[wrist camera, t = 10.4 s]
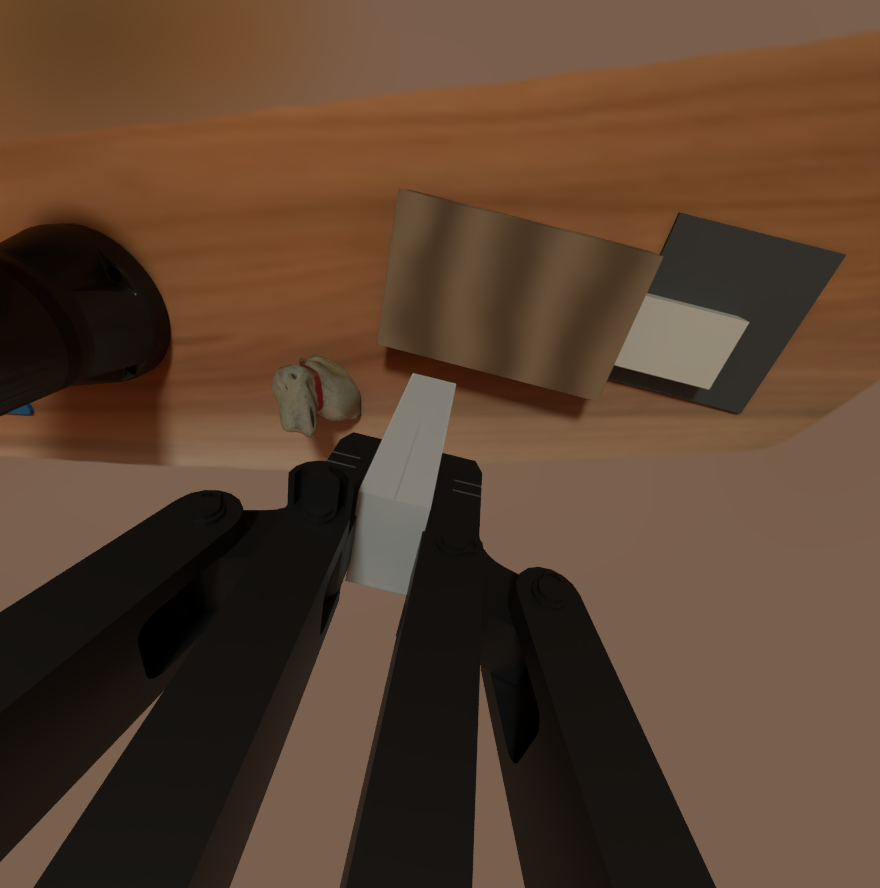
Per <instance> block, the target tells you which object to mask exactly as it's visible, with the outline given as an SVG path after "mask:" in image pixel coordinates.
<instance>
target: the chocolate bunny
mask: <svg viewBox="0 0 880 888" xmlns="http://www.w3.org/2000/svg"><path fill="white" fill-rule="evenodd" d="M299 362H300V364H299V365H295V364H293V365H288V366H285V367H282V368H280V369H278V370H277V371H276V372H275V375H274V378H273V382H272V390H273V394H274V396H275V397H276V399H277V400H278V402H279V405H280V421H281V425H282V427H283V429H284V430H286V431H288V432H299V433H302V434H304V435H305V436H307V437H311V436H312V435H313V434H314V433H315V431H316V425H317V414H318V415H320V416H321V417H323V418H325V419H328V420H330V421H343V420H351V419H356V418H357V417H358V416H359V415H360V414H361V410H360V402H361V398H360V393H359V390H358V389H357V387H356V386H355V384H354V382H353V381H352V379H351V377H350V376H349V375H348V374H347V373H346V372H345V371H344V370H343V368H342V367H340V366H339V365H338V364H335V363H333V362H331V361H330V360H328V359H327V358H323V357H320V356H312V357H311V358H309V359H308V360H307V361H306V360H305V359H303V358H301V359H300V360H299ZM316 413H317V414H316Z"/></svg>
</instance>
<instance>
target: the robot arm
mask: <svg viewBox="0 0 880 888" xmlns="http://www.w3.org/2000/svg"><path fill="white" fill-rule="evenodd" d="M168 343H169V322H168V317H167V313H166V309H165V306H164V303H163V301H162V298H161V296H160V294H159V292H158V290H157V288H156V286H155V285H154V283H153V281H152V280H151V278H150V277H149V275H148V274H147V273H146V271H145V270H144V269H143V267H142V266H141V265H140V264H139V263H138V262H137V260H136V259H135V258H134V257H133V256H132V255H131V254H130V253H129V252H127V251H126V250H125V249H124V248H123V247H122V246H120V245H119V244H118V243H116V242H115V241H113V240H112V239H110V238H109V237H107V236H105V235H104V234H102V233H100V232H98V231H96V230H93V229H91V228H88V227H85V226H81V225H76V224H66V223H65V224H48V225H38V226H34V227H30V228H27V229H25V230H23V231H21V232H19V233H17V234H16V235H14V236H12V237H10V238H8V239H6V240H4V241H2V242H1V243H0V416H2V415H5V414H7V413H9V412H11V411H14V410H16V409H18V408H21V407H23V406H25V405H27V404H30V403H32V402H34V401H36V400H39V399H41V398H43V397H46V396H48V395H50V394H53V393H55V392H57V391H59V390H62V389H64V388H67V387H69V386H78V385H91V384H103V383H116V382H123V381H127V380H131V379H134V378H136V377H138V376H140V375H142V374H144V373H146V372H148V371H150V370H152V369H154V368H155V367H156V366H157V365H158V364H159V363H160V362H161V360H162V359H163V357H164V355H165V353H166V351H167V348H168ZM455 388H456V384H455V383H451V382H447V381H443V380H439V379H435V378H431V377H427V376H423V375H419V374H415V373H413V374H412V376H411V378H410V380H409V382H408V385H407V387H406V389H405V391H404V393H403V395H402V398H401V400H400V402H399V404H398V406H397V408H396V411H395V413H394V415H393V417H392V419H391V422H390V424H389V426H388V428H387V430H386V432H385V435H384V437H383V439H378V438H374V437H370V436H366V435H362V434H358V433H354V432H353V433H351V434H349V435H348V436H346V437H344V438H342V439H341V440H340V441H339V442H338V444H337V446H336V447H335V449H334V450H333V453H332V454H331V455H330V457H329V458H328V461H312V462H306V463H303V464H300V465H298V466H296V467H295V468H293V469H292V470H291V471H290V472H289V479H288V505H287V506H286V507H285V508H281V509H277V510H243V506H242V504H241V502H240V500H239V499H238V498H236V497H235V496H233V495H232V494H230V493H226V492H223V491H217V490H214V491H213V490H204V491H200V492H194V493H190V494H188V495H186V496H184V497H181V498H179V499H177V500H176V501H174V502H172V503H171V504H169V505H168V506H166V507H165V508H163V509H162V510H160V511H158V512H157V513H155V514H154V515H152V516H150V517H149V518H147V519H146V520H144V521H143V522H141V523H140V524H138V525H136V526H135V527H133V528H132V529H130V530H128V531H127V532H125V533H124V534H122V535H121V536H119V537H118V538H116V539H114V540H113V541H111V542H110V543H108V544H107V545H105V546H103V547H102V548H100V549H99V550H97V551H96V552H94V553H92V554H91V555H89V556H88V557H86V558H85V559H83V560H81V561H80V562H78V563H77V564H75V565H74V566H72V567H71V568H69V569H67V570H66V571H65V572H63V573H61V574H60V575H58V576H56V577H55V578H53V579H52V580H50V581H48V582H47V583H46V584H44V585H42V586H41V587H39V588H38V589H36V590H34V591H33V592H32V593H30V594H28V595H27V596H25V597H23V598H22V599H20V600H19V601H17V602H16V603H14V604H12V605H11V606H9V607H8V608H6V609H5V610H3V611H2V612H0V861H2V859H3V858H4V857H5V856H6V855H7V854H8V853H9V852H10V851H11V850H12V849H13V848H14V847H15V846H16V844H18V843H19V842H20V841H21V840H22V839H23V838H24V836H25V835H26V834H27V833H28V832H29V831H30V830H31V829H32V828H33V827H34V826H35V825H36V824H37V823H38V822H39V821H40V820H41V819H42V818H43V816H45V814H46V813H47V812H48V811H49V810H50V809H51V808H52V807H53V806H54V805H55V804H56V803H57V802H58V801H59V800H60V799H61V798H62V797H63V796H64V795H65V794H66V792H68V790H69V789H70V788H71V787H72V786H73V785H74V784H75V783H76V782H77V781H78V780H79V779H80V778H81V777H82V776H83V775H84V774H85V773H86V772H87V771H88V769H89V768H90V767H91V766H92V765H93V764H94V763H95V762H96V761H97V760H98V759H99V758H100V757H101V756H102V755H103V754H104V753H105V752H106V751H107V750H108V749H109V748H110V747H111V745H112V744H113V743H114V742H115V741H116V740H117V739H118V738H119V737H120V736H121V735H122V734H123V733H124V732H125V731H126V730H127V729H128V728H129V727H130V725H132V724H133V722H134V721H135V720H136V719H137V718H138V717H139V716H140V715H141V714H142V713H143V712H144V711H145V710H146V709H147V708H148V707H149V706H150V705H151V704H152V702H154V701H155V699H156V698H157V697H158V696H159V695H160V694H161V693H162V692H163V691H164V692H163V693H162V695H161V696H160V698H159V699H158V701H157V702H156V704H155V705H154V707H153V708H152V710H151V711H150V713H149V714H148V716H147V718H146V719H145V720H144V722H143V723H142V725H141V726H140V728H139V729H138V731H137V733H136V734H135V735H134V737H133V738H132V740H131V741H130V743H129V744H128V746H127V747H126V749H125V750H124V752H123V753H122V755H121V756H120V758H119V759H118V761H117V763H116V764H115V765H114V767H113V769H112V770H111V771H110V773H109V774H108V776H107V778H106V779H105V781H104V782H103V784H102V785H101V787H100V788H99V790H98V791H97V793H96V794H95V796H94V797H93V799H92V800H91V802H90V803H89V805H88V806H87V808H86V809H85V811H84V812H83V814H82V815H81V817H80V818H79V820H78V821H77V823H76V824H75V826H74V827H73V829H72V830H71V832H70V833H69V835H68V836H67V838H66V839H65V841H64V842H63V844H62V845H61V847H60V848H59V850H58V852H57V853H56V854H55V856H54V857H53V859H52V860H51V862H50V863H49V865H48V867H47V868H46V870H45V871H44V873H43V874H42V876H41V877H40V879H39V880H38V882H37V883H36V885H35V886H34V888H229V887H230V885H231V882H232V880H233V877H234V874H235V871H236V869H237V866H238V864H239V861H240V859H241V856H242V853H243V851H244V848H245V845H246V843H247V840H248V838H249V835H250V832H251V830H252V827H253V824H254V822H255V819H256V817H257V814H258V811H259V809H260V805H261V803H262V801H263V798H264V795H265V793H266V790H267V787H268V785H269V782H270V780H271V777H272V775H273V772H274V769H275V767H276V764H277V761H278V759H279V756H280V753H281V751H282V748H283V746H284V743H285V740H286V738H287V735H288V732H289V730H290V727H291V724H292V722H293V719H294V717H295V714H296V711H297V709H298V706H299V704H300V701H301V698H302V696H303V693H304V691H305V688H306V685H307V683H308V680H309V677H310V675H311V672H312V669H313V667H314V664H315V662H316V659H317V656H318V654H319V651H320V649H321V646H322V643H323V641H324V638H325V635H326V633H327V630H328V627H329V625H330V622H331V620H332V617H333V614H334V612H335V609H336V607H337V604H338V601H339V595H340V587H341V584H342V582H343V579H344V576H345V574H346V572H347V574H346V581H349V582H353V583H357V584H361V585H365V586H370V587H374V588H378V589H382V590H386V591H390V592H394V593H399V594H403V595H406V600H405V604H404V608H403V611H402V615H401V619H400V622H399V626H398V630H397V634H396V636H397V637H396V641H395V646H394V650H393V655H392V659H391V663H390V668H389V673H388V677H387V681H386V685H385V690H384V694H383V699H382V703H381V708H380V712H379V716H378V721H377V725H376V730H375V734H374V739H373V743H372V747H371V752H370V756H369V761H368V765H367V769H366V774H365V778H364V783H363V787H362V791H361V796H360V800H359V805H358V809H357V813H356V818H355V822H354V827H353V831H352V836H351V840H350V845H349V849H348V853H347V858H346V862H345V867H344V871H343V875H342V880H341V884H340V888H472V875H473V846H474V819H475V792H476V763H477V736H478V735H477V734H478V707H479V706H478V705H479V680H480V665H481V672H482V677H483V682H484V687H485V692H486V697H487V702H488V707H489V712H490V717H491V722H492V727H493V731H494V737H495V742H496V746H497V751H498V756H499V761H500V766H501V771H502V776H503V781H504V786H505V791H506V796H507V801H508V805H509V811H510V816H511V820H512V825H513V831H514V836H515V840H516V845H517V851H518V855H519V860H520V865H521V870H522V875H523V880H524V885H525V888H716V886H715V884H714V882H713V880H712V878H711V876H710V874H709V871H708V869H707V867H706V865H705V863H704V861H703V858H702V856H701V854H700V852H699V850H698V848H697V846H696V843H695V841H694V839H693V837H692V835H691V833H690V831H689V828H688V826H687V824H686V822H685V820H684V818H683V816H682V813H681V811H680V809H679V807H678V805H677V803H676V801H675V798H674V796H673V794H672V792H671V790H670V788H669V786H668V783H667V781H666V779H665V777H664V775H663V773H662V770H661V768H660V766H659V764H658V762H657V760H656V758H655V756H654V753H653V751H652V749H651V747H650V745H649V743H648V740H647V738H646V736H645V734H644V732H643V730H642V727H641V725H640V723H639V721H638V719H637V717H636V715H635V713H634V710H633V708H632V706H631V704H630V702H629V700H628V697H627V695H626V693H625V691H624V689H623V687H622V684H621V683H620V680H619V678H618V676H617V674H616V672H615V669H614V667H613V665H612V663H611V661H610V659H609V657H608V654H607V652H606V650H605V648H604V646H603V644H602V642H601V639H600V637H599V635H598V633H597V631H596V629H595V627H594V625H593V622H592V620H591V618H590V616H589V614H588V612H587V609H586V607H585V605H584V603H583V601H582V599H581V596H580V595H579V593H578V592H577V590H576V589H575V587H574V586H573V584H572V583H570V582H569V581H568V580H567V579H566V578H565V577H563V576H562V575H561V574H558V573H557V572H555V571H552V570H551V569H546V568H541V567H534V568H528V569H526V570H524V571H523V572H521V573H520V574H517V573H515V572H513V571H511V570H509V569H507V568H505V567H503V566H502V565H500V564H498V563H497V562H495V561H494V560H493V559H492V558H491V557H490V556H489V555H488V554H487V553H486V551H485V550H484V549H483V544H482V542H481V541H480V538H479V527H480V507H481V484H482V472H481V470H480V469H479V467H478V465H477V463H476V461H473V460H469V459H465V458H461V457H457V456H453V455H449V454H444V453H442V451H443V446H444V442H445V437H446V432H447V427H448V422H449V417H450V412H451V408H452V403H453V398H454V393H455Z"/></svg>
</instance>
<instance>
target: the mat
mask: <svg viewBox="0 0 880 888" xmlns="http://www.w3.org/2000/svg"><path fill="white" fill-rule="evenodd" d="M660 255H661V256H663V259H662V261H661V263H660V266H659V268H658V270H657V272H656V274H655V277H654V279H653V281H652V283H651V285H650V287H649V290H648V292H647V293H649V294H653V295H657V296H661V297H665V298H669V299H672V300H676V301H680V302H684V303H688V304H692V305H696V306H700V307H704V308H708V309H712V310H716V311H719V312H723V313H727V314H731V315H735V316H739V317H740V318H742V319H744V320H746V321H748V322H749V324H748V326H747V327H746V329H745V331H744V332H743V334H742V336H741V337H740V339H739V341H738V342H737V344H736V346H735V347H734V349H733V351H732V352H731V354H730V356H729V357H728V359H727V361H726V362H725V364H724V366H723V367H722V369H721V371H720V372H719V374H718V376H717V377H716V379H715V381H714V382H713V384H712V386H711V387H710V389H705V388H701V387H697V386H693V385H689V384H685V383H682V382H678V381H674V380H670V379H666V378H662V377H658V376H654V375H650V374H647V373H643V372H639V371H635V370H631V369H627V368H623V367H619V366H616V365H614V366H613V369H612V371H611V373H610V375H609V377H608V380H612V381H616V382H620V383H624V384H628V385H632V386H635V387H639V388H643V389H647V390H651V391H655V392H659V393H662V394H666V395H670V396H674V397H678V398H682V399H686V400H689V401H693V402H697V403H701V404H705V405H709V406H712V407H716V408H720V409H724V410H728V411H732V412H736V413H739V414H741V412H742V411H743V409H744V408H745V406H746V405H747V403H748V402H749V400H750V399H751V397H752V396H753V394H754V393H755V391H756V390H757V388H758V387H759V385H760V384H761V382H762V381H763V379H764V378H765V376H766V375H767V373H768V372H769V370H770V369H771V367H772V366H773V364H774V363H775V361H776V360H777V358H778V357H779V355H780V354H781V352H782V351H783V349H784V348H785V346H786V345H787V343H788V342H789V340H790V339H791V337H792V335H793V334H794V332H795V331H796V329H797V328H798V326H799V325H800V323H801V322H802V320H803V319H804V317H805V316H806V314H807V313H808V311H809V310H810V308H811V307H812V305H813V304H814V302H815V301H816V299H817V298H818V296H819V295H820V293H821V292H822V290H823V289H824V287H825V286H826V284H827V283H828V281H829V280H830V278H831V277H832V275H833V274H834V272H835V271H836V269H837V268H838V266H839V265H840V263H841V262H842V260H843V259H844V257H845V256H846V255H845V254H841V253H837V252H833V251H829V250H825V249H821V248H817V247H813V246H809V245H805V244H801V243H797V242H793V241H789V240H785V239H782V238H778V237H774V236H770V235H766V234H762V233H758V232H754V231H750V230H746V229H742V228H738V227H734V226H730V225H726V224H722V223H719V222H715V221H711V220H707V219H703V218H699V217H695V216H691V215H687V214H683V213H679V214H678V216H677V218H676V220H675V222H674V225H673V227H672V229H671V231H670V234H669V236H668V238H667V240H666V242H665V245H664V247H663V249H662V251H661V253H660Z"/></svg>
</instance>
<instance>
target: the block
mask: <svg viewBox="0 0 880 888" xmlns="http://www.w3.org/2000/svg"><path fill="white" fill-rule="evenodd" d="M748 324H749V322H748V321H746V320H744V319H742V318H740V317H739V316H735V315H731V314H727V313H723V312H719V311H716V310H712V309H708V308H704V307H700V306H696V305H692V304H688V303H684V302H680V301H676V300H672V299H669V298H665V297H661V296H657V295H653V294H649V293H647V294H646V296H645V298H644V301H643V303H642V305H641V307H640V309H639V312H638V314H637V316H636V318H635V320H634V323H633V325H632V327H631V329H630V331H629V333H628V336H627V338H626V340H625V342H624V344H623V347H622V349H621V351H620V353H619V355H618V358H617V360H616V362H615V364H614V365H616V366H619V367H623V368H627V369H631V370H635V371H639V372H643V373H647V374H650V375H654V376H658V377H662V378H666V379H670V380H674V381H678V382H682V383H685V384H689V385H693V386H697V387H701V388H705V389H710V387H711V386H712V384H713V382H714V381H715V379H716V377H717V376H718V374H719V372H720V371H721V369H722V367H723V366H724V364H725V362H726V361H727V359H728V357H729V356H730V354H731V352H732V351H733V349H734V347H735V346H736V344H737V342H738V341H739V339H740V337H741V336H742V334H743V332H744V331H745V329H746V327H747V326H748Z"/></svg>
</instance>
